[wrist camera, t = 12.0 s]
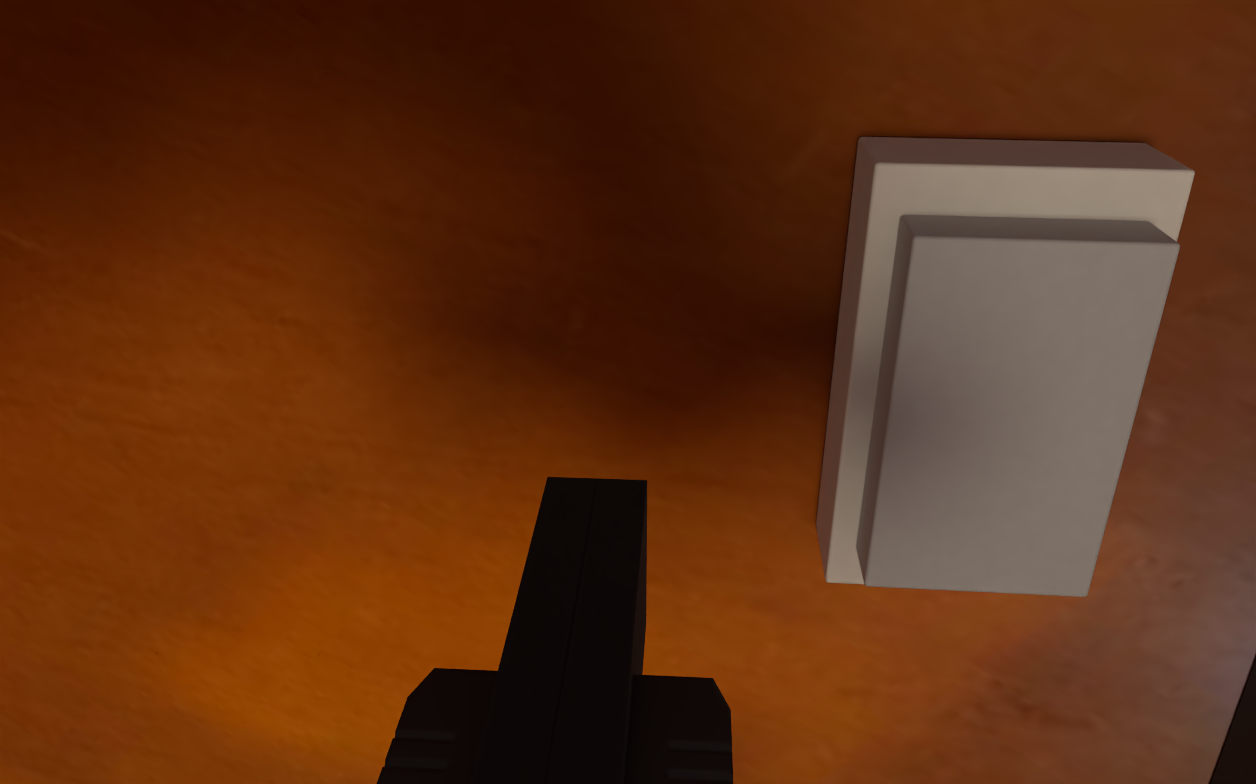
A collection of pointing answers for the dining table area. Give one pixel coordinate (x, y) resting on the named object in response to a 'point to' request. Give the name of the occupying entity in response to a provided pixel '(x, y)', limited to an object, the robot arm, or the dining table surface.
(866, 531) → the stepped grey block
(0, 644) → the dining table surface
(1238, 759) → the dark grey stepped slab
